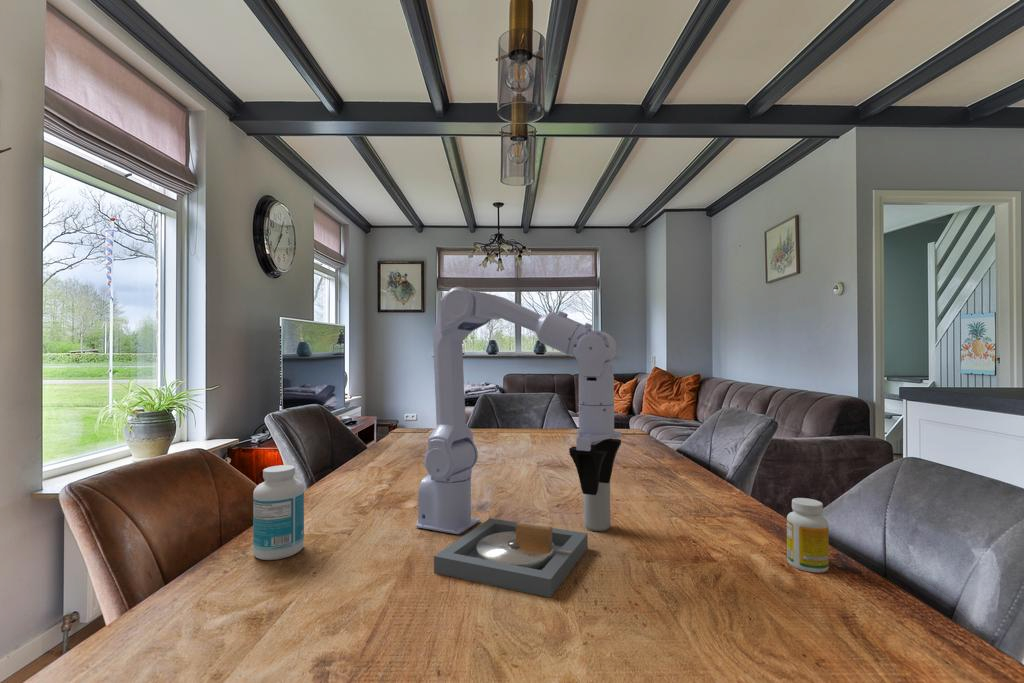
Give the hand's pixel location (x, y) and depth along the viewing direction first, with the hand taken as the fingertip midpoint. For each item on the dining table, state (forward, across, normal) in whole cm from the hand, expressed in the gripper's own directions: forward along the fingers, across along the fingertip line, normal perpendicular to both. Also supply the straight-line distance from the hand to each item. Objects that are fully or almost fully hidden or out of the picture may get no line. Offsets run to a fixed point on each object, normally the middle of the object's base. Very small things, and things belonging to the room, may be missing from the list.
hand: (596, 487), depth 79 cm
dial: (+10, -9, +10) cm, 17 cm away
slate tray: (+10, -9, +10) cm, 17 cm away
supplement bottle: (+10, +8, -30) cm, 33 cm away
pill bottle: (+10, -23, +46) cm, 52 cm away
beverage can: (+10, +10, +3) cm, 15 cm away
